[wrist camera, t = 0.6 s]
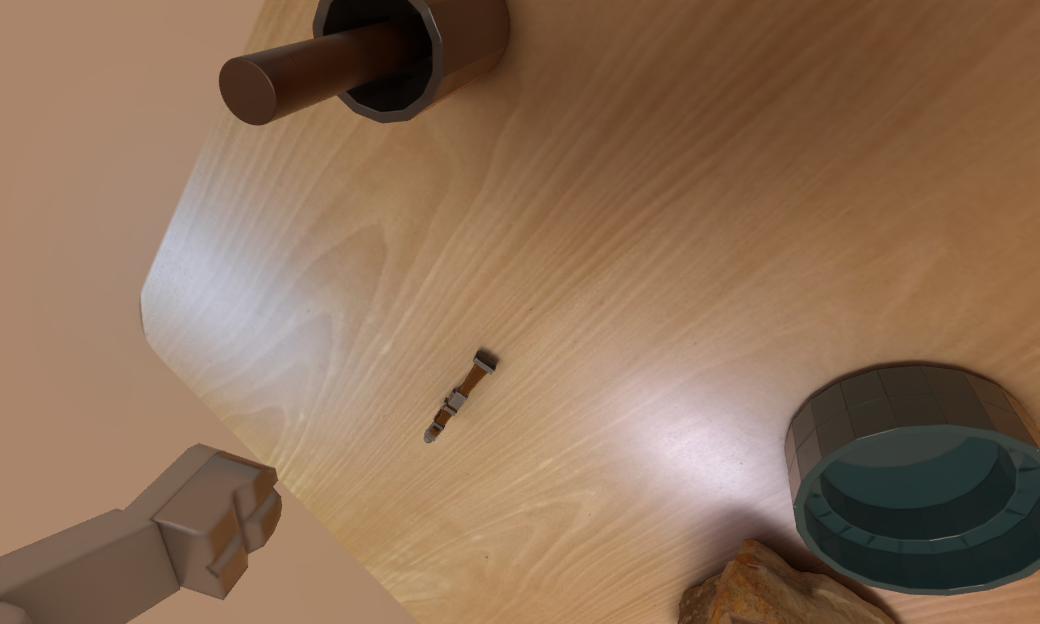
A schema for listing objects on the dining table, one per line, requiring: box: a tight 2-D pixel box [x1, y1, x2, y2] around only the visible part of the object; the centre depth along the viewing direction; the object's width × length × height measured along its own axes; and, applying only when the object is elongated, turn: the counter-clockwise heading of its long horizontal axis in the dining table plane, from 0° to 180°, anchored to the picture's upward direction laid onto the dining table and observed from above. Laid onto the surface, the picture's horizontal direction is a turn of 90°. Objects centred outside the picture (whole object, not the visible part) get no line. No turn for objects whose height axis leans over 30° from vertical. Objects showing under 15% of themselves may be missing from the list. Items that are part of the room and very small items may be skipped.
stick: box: [219, 13, 432, 126], centre depth 25 cm, size 2×2×18 cm
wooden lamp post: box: [424, 351, 496, 443], centre depth 46 cm, size 2×8×4 cm, turn 147°
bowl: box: [785, 366, 1040, 596], centre depth 37 cm, size 14×14×6 cm
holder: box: [313, 0, 510, 123], centre depth 29 cm, size 6×6×10 cm
